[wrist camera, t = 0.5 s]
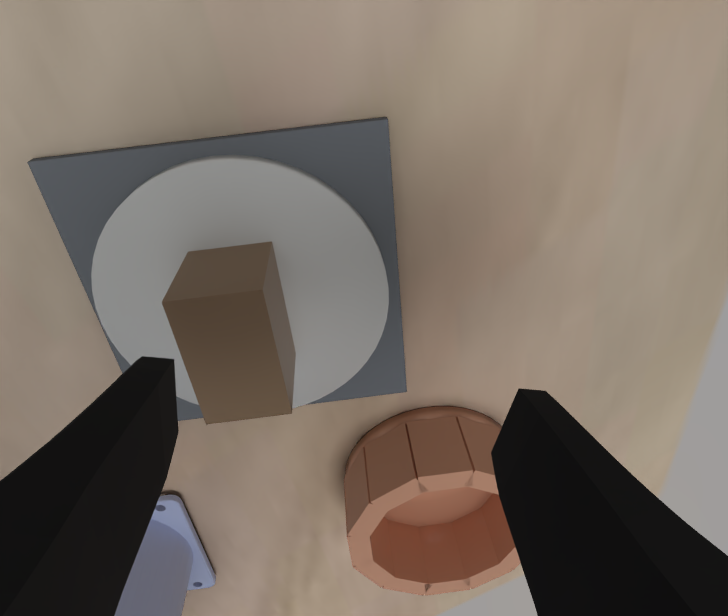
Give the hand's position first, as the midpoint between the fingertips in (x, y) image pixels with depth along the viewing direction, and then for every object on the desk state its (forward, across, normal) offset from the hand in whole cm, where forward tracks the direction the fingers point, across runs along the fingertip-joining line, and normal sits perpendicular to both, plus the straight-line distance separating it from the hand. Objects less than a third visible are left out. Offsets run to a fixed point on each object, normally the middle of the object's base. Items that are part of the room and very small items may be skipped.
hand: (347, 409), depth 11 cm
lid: (+9, +3, +3) cm, 10 cm away
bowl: (+10, -7, +13) cm, 18 cm away
